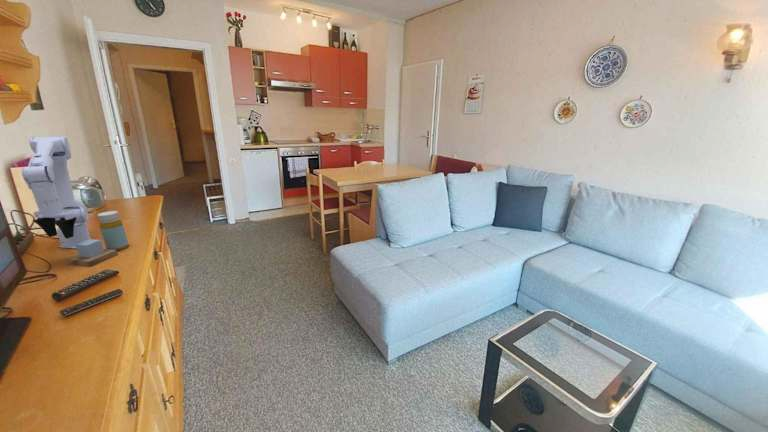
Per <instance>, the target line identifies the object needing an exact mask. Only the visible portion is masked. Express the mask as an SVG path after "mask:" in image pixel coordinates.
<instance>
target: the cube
mask: <svg viewBox="0 0 768 432" xmlns="http://www.w3.org/2000/svg"><path fill="white" fill-rule="evenodd" d="M75 245H76V248H77V249H76V251H77V253H78V254H77V255H79V256H80V257H85V258H92V257H94V256H97V255H99V254H102V253H104V249H105V248H104V246H103V243H102V240H101V239H94V238H93V239H92V238H91V239H89V240H86V241H84V242H81V243H78V244H75Z"/></svg>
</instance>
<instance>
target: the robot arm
mask: <svg viewBox="0 0 768 432" xmlns="http://www.w3.org/2000/svg"><path fill="white" fill-rule="evenodd" d="M28 141H29V146H30V148H31V150H32V152H33V153H34V154H32V155H31V156H30V158H29V161H28V165H27V166H24V168H22V169H21V176H22V178H23V181H24V182H25V183H26V186H27V187H28V189H29V190H31V193H32V196H33V198H34V201H35V203H36V205H37V208H38V210H37V211H33V216H34V217H35V218H36V219H33V223H34V224H37V226H39V227H40V228H41V229H42V230H43V231H44V233H45V234H46V235H47V236H48V237H49V238H51V237H55V236H57V237H58V239H59V242H60V244H61V245H59V248H63V249H75V250H77V248H76V245H75V244H78V243H81V242H84V241H86V240H89V239H92V238H91V235H90V231H89V230H88V226H87V224H86V223H87V222H88V221H89V220H90V217H89V212H88V210H87V208H86V207H87V206H86V205H85V204H84V203H82V202H81V201H78V200H75V197H74V191H73V188H72V181H71V178H70V174H69V170H68V169H69V168H68V160H70V159H72V152H71V146H70V143H69V141H68V139H67V138H66V136H63V135H61V136H39V137H36V136H35V137H34V136H31V137H30V138H29V140H28ZM56 226H57V227H56Z"/></svg>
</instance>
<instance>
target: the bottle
mask: <svg viewBox="0 0 768 432" xmlns="http://www.w3.org/2000/svg"><path fill="white" fill-rule="evenodd" d="M96 215H97V219H98V220H99V229H100V232H101V235H102V238H103V239H102V240H103V242H104V245H105V249H112V250H117V252H119V251H122V250H124V249H127V248H128V247H129V246H130V245H129V241H128V237H127V234H126V230H125V226H124V223H123V221H122V220H121V219H120V215H119V211H117V210H109V211H103V212H100V213H98V214H96Z"/></svg>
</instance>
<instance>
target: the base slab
mask: <svg viewBox="0 0 768 432" xmlns="http://www.w3.org/2000/svg"><path fill="white" fill-rule="evenodd" d="M103 249H104V253H102V254H99V255H97V256H94V257H92V258H85V257H80V256H79V254H76V255H74V256H71V257H69V258H66V261H67V264H68V265H70V266H71V265H72V266H80V267H89V268H90V267H91V268H92V267H93V266H95V265H97V264H100V263H102V262H105V261H108V260H110V259H112V258H114V257H116V256H118V255H119V254H118V251H117V250H112V249H107V248H103Z"/></svg>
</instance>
